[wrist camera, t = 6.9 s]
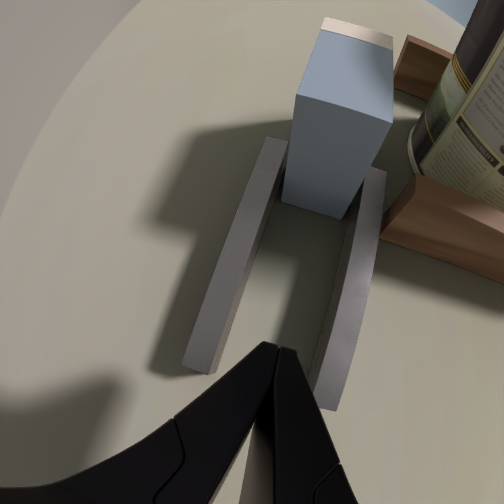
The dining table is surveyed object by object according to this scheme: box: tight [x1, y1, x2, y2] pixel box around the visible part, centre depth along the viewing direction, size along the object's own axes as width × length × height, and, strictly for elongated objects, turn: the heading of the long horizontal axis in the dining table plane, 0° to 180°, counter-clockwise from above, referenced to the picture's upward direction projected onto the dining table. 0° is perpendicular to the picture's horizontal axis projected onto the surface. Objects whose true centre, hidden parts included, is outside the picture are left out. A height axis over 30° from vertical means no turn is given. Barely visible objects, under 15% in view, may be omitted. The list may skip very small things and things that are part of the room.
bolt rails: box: [181, 136, 387, 411], centre depth 15 cm, size 12×7×2 cm, turn 162°
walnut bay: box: [379, 35, 504, 284], centre depth 16 cm, size 15×14×5 cm
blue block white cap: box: [281, 17, 394, 220], centre depth 14 cm, size 7×4×8 cm, turn 162°
